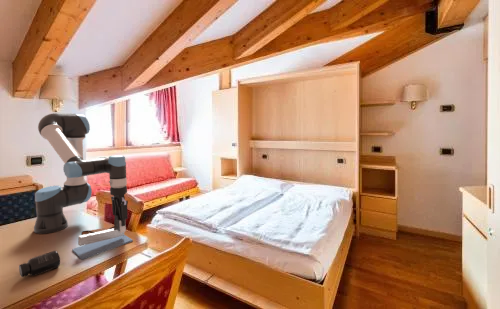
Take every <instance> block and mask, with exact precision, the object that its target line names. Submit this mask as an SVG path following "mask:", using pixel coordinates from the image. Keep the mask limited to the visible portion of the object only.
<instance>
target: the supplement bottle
mask: <svg viewBox="0 0 500 309" xmlns="http://www.w3.org/2000/svg"><path fill="white" fill-rule="evenodd" d="M60 265H61V259H60V255H59V253H58V251H57V250H53V251H50V252H46V253H44V254H40V255H37V256H34V257H32V258H29V259H28V261H27V262H23V263H21V264H19V265H18V271H19V275H20V278H24V277H26V276H29V275H30V276H32V277H33V276H38V275H40V274H43V273H44V272H48V271H51V270H54V269H56V268H58V267H60Z"/></svg>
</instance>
